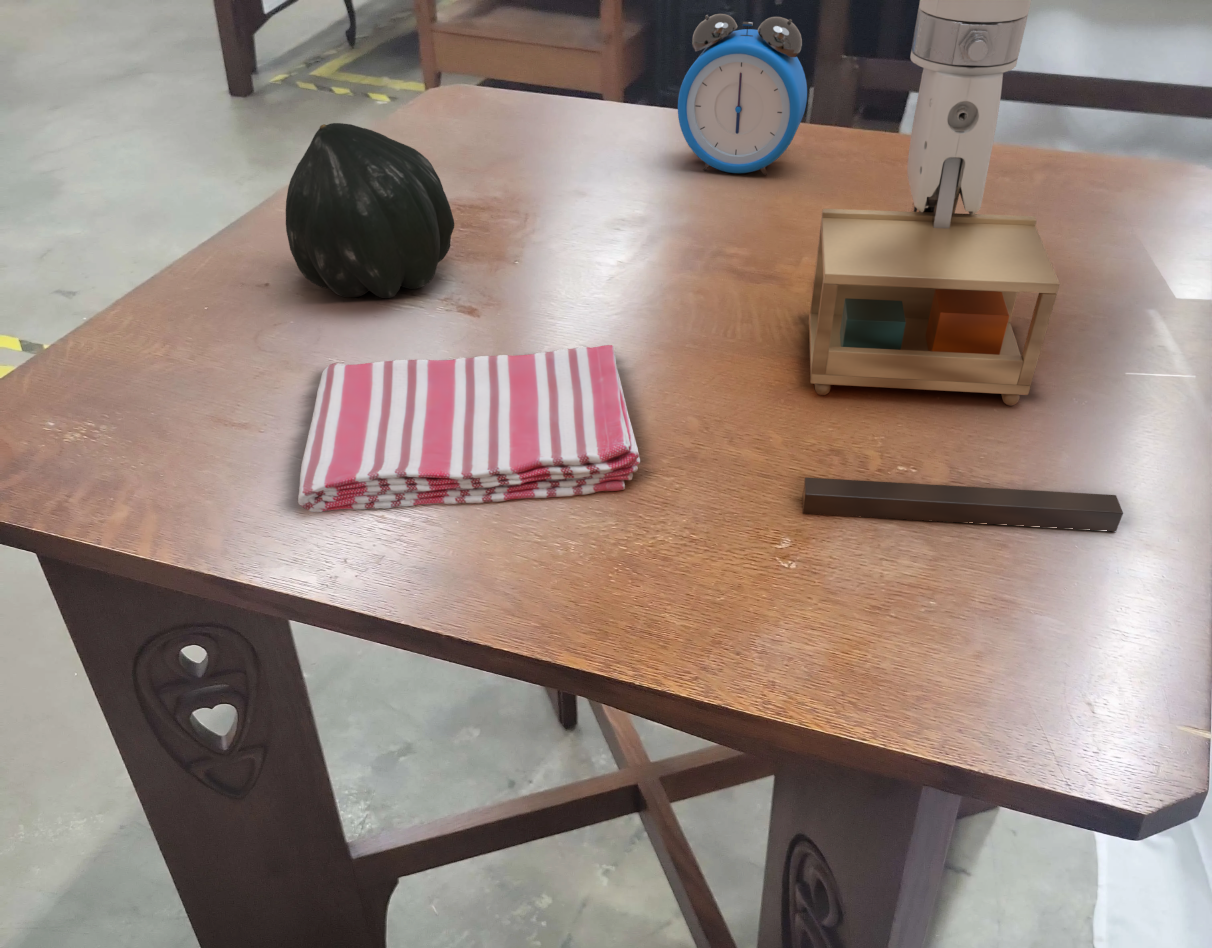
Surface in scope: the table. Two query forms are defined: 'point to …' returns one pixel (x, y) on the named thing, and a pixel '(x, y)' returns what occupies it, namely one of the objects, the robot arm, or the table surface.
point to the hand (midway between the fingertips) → (918, 280)
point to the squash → (366, 213)
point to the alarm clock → (743, 93)
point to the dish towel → (468, 431)
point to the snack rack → (927, 302)
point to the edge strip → (961, 504)
